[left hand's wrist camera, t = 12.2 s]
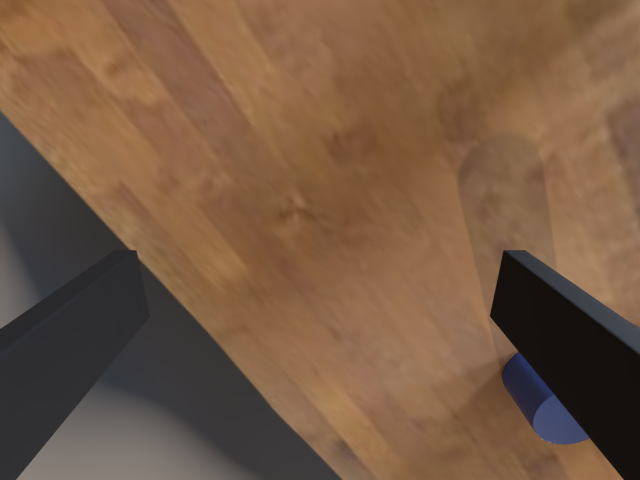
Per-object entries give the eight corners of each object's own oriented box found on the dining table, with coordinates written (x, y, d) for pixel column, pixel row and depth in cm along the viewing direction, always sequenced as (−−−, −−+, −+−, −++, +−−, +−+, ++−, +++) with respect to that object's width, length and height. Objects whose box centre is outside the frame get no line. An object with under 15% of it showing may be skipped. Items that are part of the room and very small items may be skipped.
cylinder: (489, 386, 47) (517, 432, 40) (527, 336, 44) (564, 376, 37) (544, 405, 48) (580, 452, 41) (585, 357, 45) (630, 400, 38)
